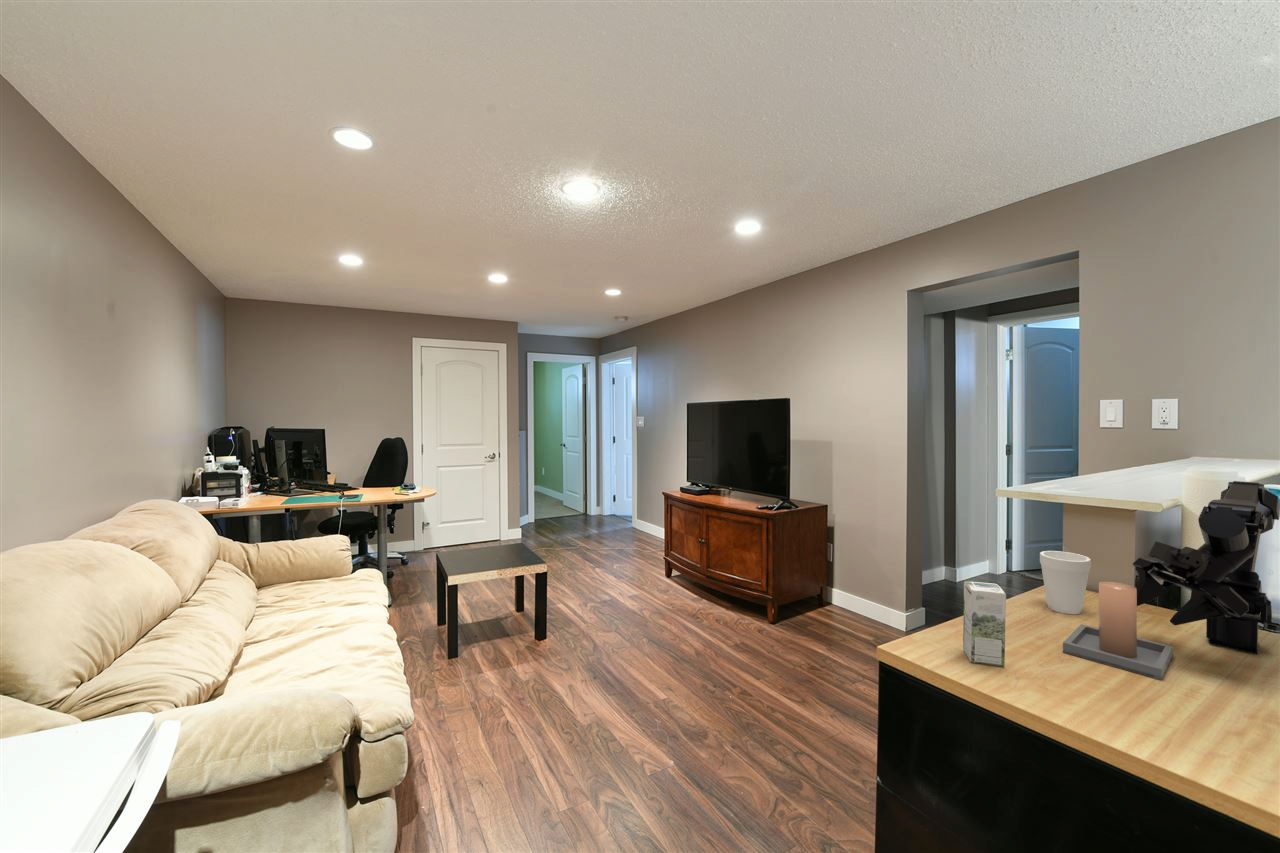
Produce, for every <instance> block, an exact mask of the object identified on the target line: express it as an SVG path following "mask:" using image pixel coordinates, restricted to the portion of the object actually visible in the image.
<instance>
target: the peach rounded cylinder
mask: <svg viewBox="0 0 1280 853" xmlns="http://www.w3.org/2000/svg"><path fill="white" fill-rule="evenodd" d="M1137 612H1138V606H1137V587H1135V586H1133V585H1132V584H1131V585H1130V584H1127V583H1122V582H1116V581H1100V582H1098V628H1099V648H1100V649H1101V650H1102V651H1104V652H1107V653H1110V654H1114V655H1118V656H1122V657H1126V658H1134V657H1136V656H1137V638H1138V637H1137V636H1138V619H1137V618H1138V613H1137Z"/></svg>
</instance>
